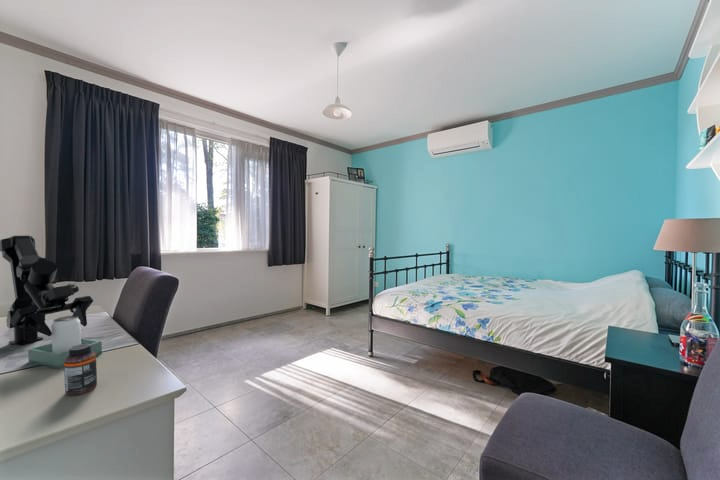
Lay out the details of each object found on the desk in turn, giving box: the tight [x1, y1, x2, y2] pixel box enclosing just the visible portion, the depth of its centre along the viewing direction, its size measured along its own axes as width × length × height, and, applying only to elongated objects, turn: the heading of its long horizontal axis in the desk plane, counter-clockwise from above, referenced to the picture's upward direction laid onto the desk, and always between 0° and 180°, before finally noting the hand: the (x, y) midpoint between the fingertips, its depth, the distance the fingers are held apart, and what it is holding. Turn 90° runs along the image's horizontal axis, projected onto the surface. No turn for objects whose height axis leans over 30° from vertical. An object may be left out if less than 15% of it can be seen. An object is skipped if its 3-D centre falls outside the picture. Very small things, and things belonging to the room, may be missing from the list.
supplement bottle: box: [63, 344, 98, 396], centre depth 76 cm, size 6×6×11 cm
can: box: [51, 315, 82, 354], centre depth 94 cm, size 6×6×12 cm
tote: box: [27, 337, 103, 370], centre depth 95 cm, size 14×12×4 cm
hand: (69, 330), depth 94 cm, fingers open, 9 cm apart
